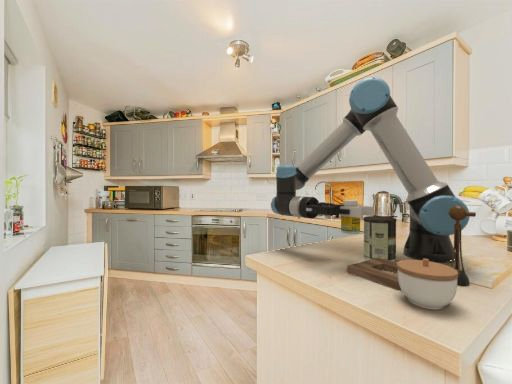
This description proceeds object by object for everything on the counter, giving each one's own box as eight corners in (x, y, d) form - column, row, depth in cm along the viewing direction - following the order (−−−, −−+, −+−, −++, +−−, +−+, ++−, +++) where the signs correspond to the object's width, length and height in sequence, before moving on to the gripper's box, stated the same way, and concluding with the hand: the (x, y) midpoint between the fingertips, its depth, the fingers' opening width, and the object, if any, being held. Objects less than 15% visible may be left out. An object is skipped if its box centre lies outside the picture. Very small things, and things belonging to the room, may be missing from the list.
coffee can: (386, 254, 90) (386, 216, 90) (402, 262, 80) (403, 219, 80) (358, 254, 90) (358, 216, 90) (371, 262, 80) (371, 219, 80)
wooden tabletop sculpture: (478, 285, 61) (479, 205, 60) (468, 289, 59) (469, 206, 58) (451, 278, 66) (452, 204, 66) (441, 280, 64) (442, 205, 64)
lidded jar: (387, 300, 53) (387, 257, 53) (409, 288, 60) (409, 250, 59) (446, 321, 45) (447, 271, 44) (465, 305, 51) (465, 260, 51)
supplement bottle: (348, 230, 76) (348, 199, 76) (364, 232, 72) (364, 200, 72) (337, 232, 73) (337, 200, 73) (352, 234, 69) (352, 201, 69)
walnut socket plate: (377, 263, 79) (377, 257, 79) (430, 278, 66) (430, 271, 66) (347, 272, 71) (347, 265, 71) (400, 290, 58) (400, 282, 58)
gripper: (321, 215, 93) (383, 222, 74) (286, 219, 82) (348, 228, 63) (321, 196, 92) (383, 197, 74) (286, 197, 81) (348, 199, 63)
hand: (367, 212), depth 68 cm, fingers closed on supplement bottle, 5 cm apart
